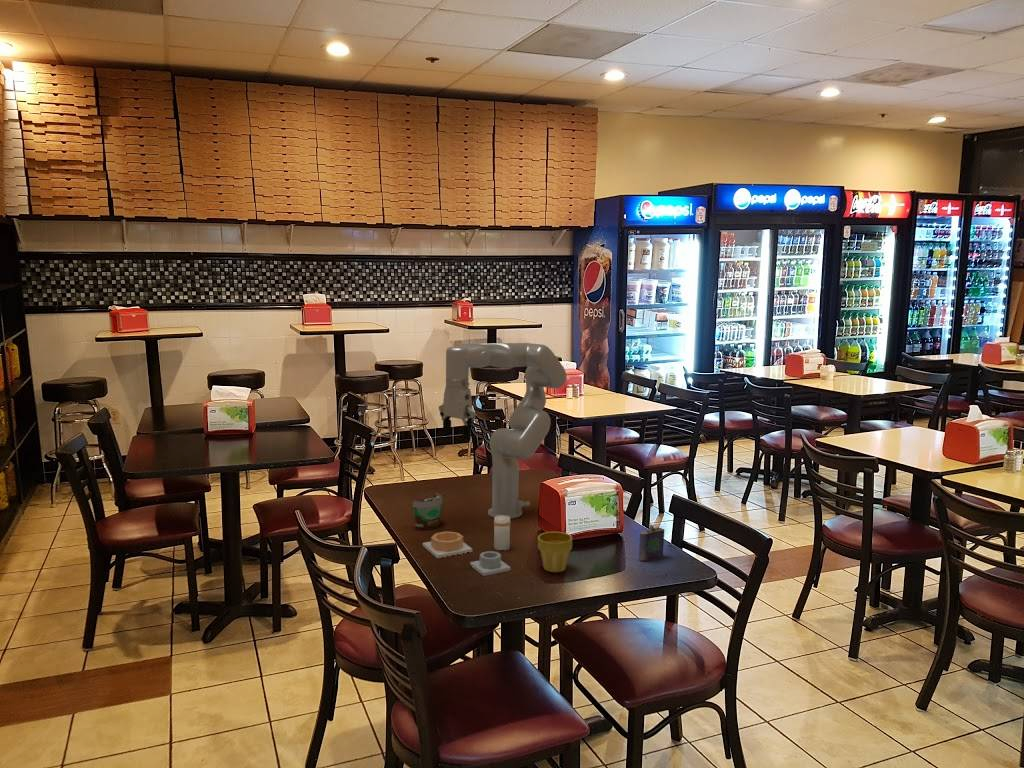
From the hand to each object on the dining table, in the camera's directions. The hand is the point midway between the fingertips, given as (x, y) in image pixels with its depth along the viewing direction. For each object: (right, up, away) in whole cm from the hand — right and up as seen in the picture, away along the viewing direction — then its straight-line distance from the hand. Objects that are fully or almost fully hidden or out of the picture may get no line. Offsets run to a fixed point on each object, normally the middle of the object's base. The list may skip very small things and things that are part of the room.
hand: (456, 434), depth 252 cm
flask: (+62, -38, -19) cm, 75 cm away
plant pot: (+31, -39, -27) cm, 57 cm away
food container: (-9, -33, +8) cm, 35 cm away
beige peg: (+15, -36, -11) cm, 40 cm away
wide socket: (-2, -36, -13) cm, 38 cm away
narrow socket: (+12, -38, -28) cm, 49 cm away
